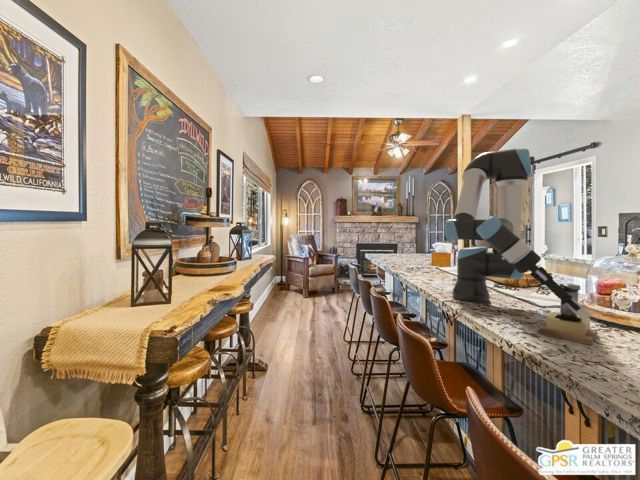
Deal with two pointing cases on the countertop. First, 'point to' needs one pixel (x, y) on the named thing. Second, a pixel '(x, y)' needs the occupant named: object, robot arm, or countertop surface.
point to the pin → (564, 309)
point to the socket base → (570, 335)
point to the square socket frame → (568, 325)
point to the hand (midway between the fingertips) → (584, 315)
